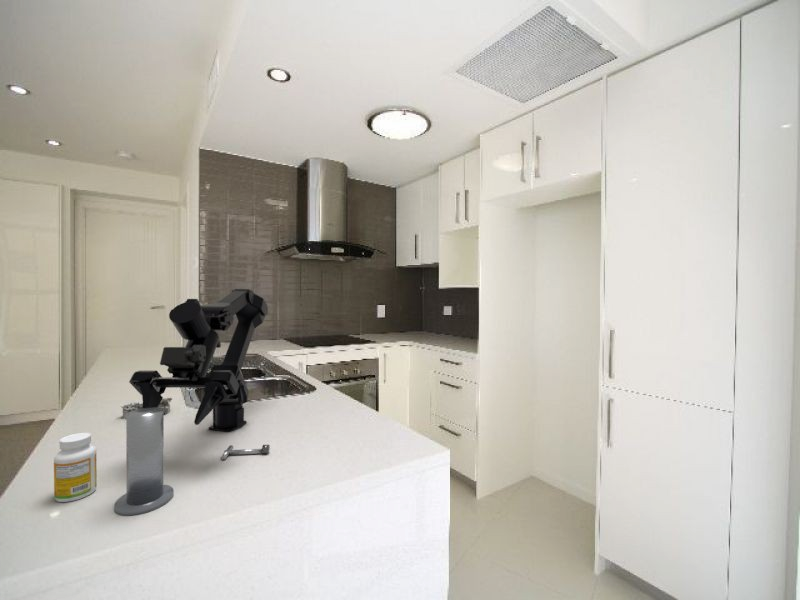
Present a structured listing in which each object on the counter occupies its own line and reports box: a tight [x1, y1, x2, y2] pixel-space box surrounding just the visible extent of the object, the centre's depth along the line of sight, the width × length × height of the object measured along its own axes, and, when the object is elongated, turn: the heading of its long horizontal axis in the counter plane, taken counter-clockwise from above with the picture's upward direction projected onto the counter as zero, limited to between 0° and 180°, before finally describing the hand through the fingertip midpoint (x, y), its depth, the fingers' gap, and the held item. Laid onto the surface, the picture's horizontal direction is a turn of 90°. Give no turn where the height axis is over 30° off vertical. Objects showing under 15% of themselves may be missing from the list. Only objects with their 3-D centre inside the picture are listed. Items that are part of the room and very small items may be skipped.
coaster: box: [113, 484, 174, 516], centre depth 60 cm, size 8×8×1 cm
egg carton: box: [120, 397, 173, 420], centre depth 102 cm, size 11×8×4 cm
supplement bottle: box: [53, 432, 98, 503], centre depth 62 cm, size 5×5×10 cm
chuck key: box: [220, 444, 270, 461], centre depth 78 cm, size 9×5×2 cm, turn 98°
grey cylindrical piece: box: [125, 407, 165, 506], centre depth 60 cm, size 5×5×14 cm
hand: (170, 424), depth 68 cm, fingers open, 9 cm apart
